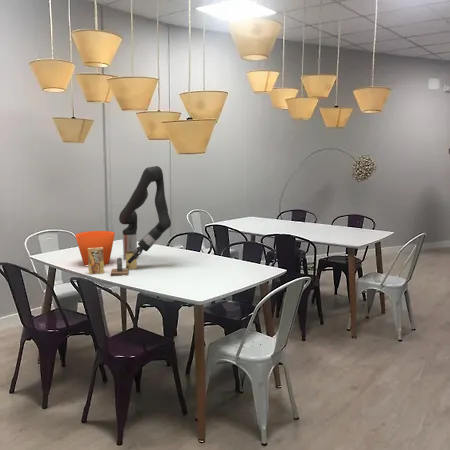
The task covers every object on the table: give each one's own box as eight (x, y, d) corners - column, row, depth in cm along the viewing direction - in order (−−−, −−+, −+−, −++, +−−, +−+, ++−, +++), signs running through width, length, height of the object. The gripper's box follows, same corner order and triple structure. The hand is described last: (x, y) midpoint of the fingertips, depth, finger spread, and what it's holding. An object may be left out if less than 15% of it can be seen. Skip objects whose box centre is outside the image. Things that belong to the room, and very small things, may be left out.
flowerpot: (90, 258, 334) (88, 230, 331) (122, 260, 327) (121, 231, 324) (68, 266, 310) (67, 236, 307) (103, 269, 303) (102, 237, 300)
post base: (111, 271, 297) (111, 256, 296) (128, 270, 299) (128, 255, 298) (110, 276, 286) (110, 260, 284) (128, 275, 287) (127, 259, 286)
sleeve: (126, 267, 308) (125, 251, 306) (136, 266, 309) (136, 251, 308) (126, 269, 302) (125, 253, 300) (136, 269, 303) (136, 253, 301)
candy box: (104, 271, 297) (102, 247, 294) (104, 273, 293) (103, 248, 290) (88, 272, 294) (87, 247, 292) (88, 274, 290) (87, 249, 288)
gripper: (142, 236, 311) (124, 255, 311) (142, 240, 297) (123, 260, 297) (151, 244, 313) (133, 262, 312) (151, 248, 299) (132, 268, 298)
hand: (128, 261), depth 304 cm, fingers closed on sleeve, 6 cm apart
